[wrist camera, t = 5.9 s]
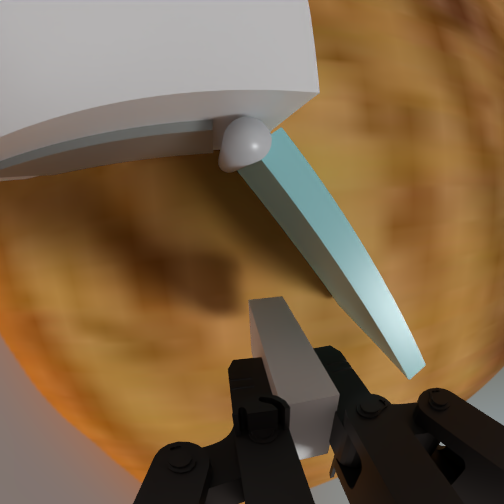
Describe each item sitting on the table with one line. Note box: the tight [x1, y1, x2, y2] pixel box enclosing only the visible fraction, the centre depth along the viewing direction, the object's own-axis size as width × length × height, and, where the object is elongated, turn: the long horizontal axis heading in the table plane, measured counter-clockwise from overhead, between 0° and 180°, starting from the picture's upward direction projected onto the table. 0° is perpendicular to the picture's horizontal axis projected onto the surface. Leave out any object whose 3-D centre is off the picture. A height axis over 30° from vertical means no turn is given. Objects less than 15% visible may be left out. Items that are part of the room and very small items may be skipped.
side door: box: [218, 117, 426, 380], centre depth 10 cm, size 10×2×7 cm, turn 38°
